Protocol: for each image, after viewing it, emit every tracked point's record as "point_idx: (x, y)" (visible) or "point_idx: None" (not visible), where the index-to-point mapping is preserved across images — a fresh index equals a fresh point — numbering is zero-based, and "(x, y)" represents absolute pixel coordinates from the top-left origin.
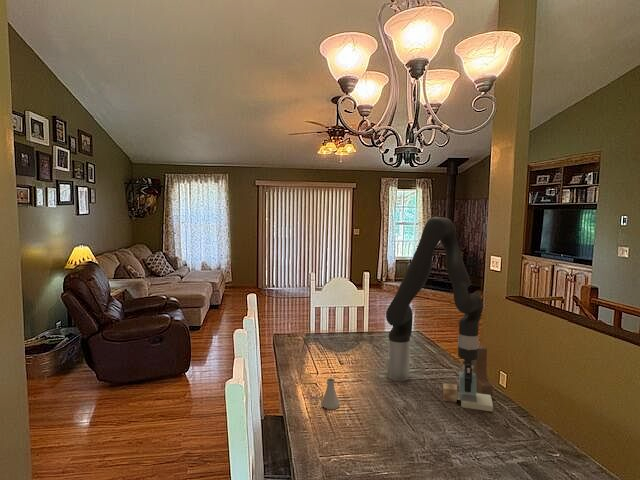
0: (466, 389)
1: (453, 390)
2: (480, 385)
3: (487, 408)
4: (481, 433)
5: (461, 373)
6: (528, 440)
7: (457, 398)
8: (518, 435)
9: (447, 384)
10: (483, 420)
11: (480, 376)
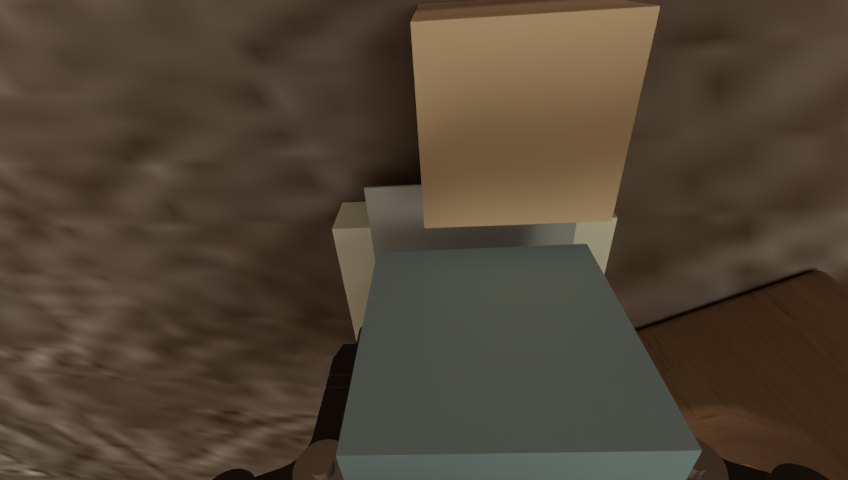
0: (332, 367)
1: (422, 181)
2: (679, 400)
3: None
4: (25, 322)
5: (571, 474)
6: (153, 468)
7: (390, 193)
8: (169, 447)
9: (601, 85)
10: (214, 334)
11: (807, 463)
